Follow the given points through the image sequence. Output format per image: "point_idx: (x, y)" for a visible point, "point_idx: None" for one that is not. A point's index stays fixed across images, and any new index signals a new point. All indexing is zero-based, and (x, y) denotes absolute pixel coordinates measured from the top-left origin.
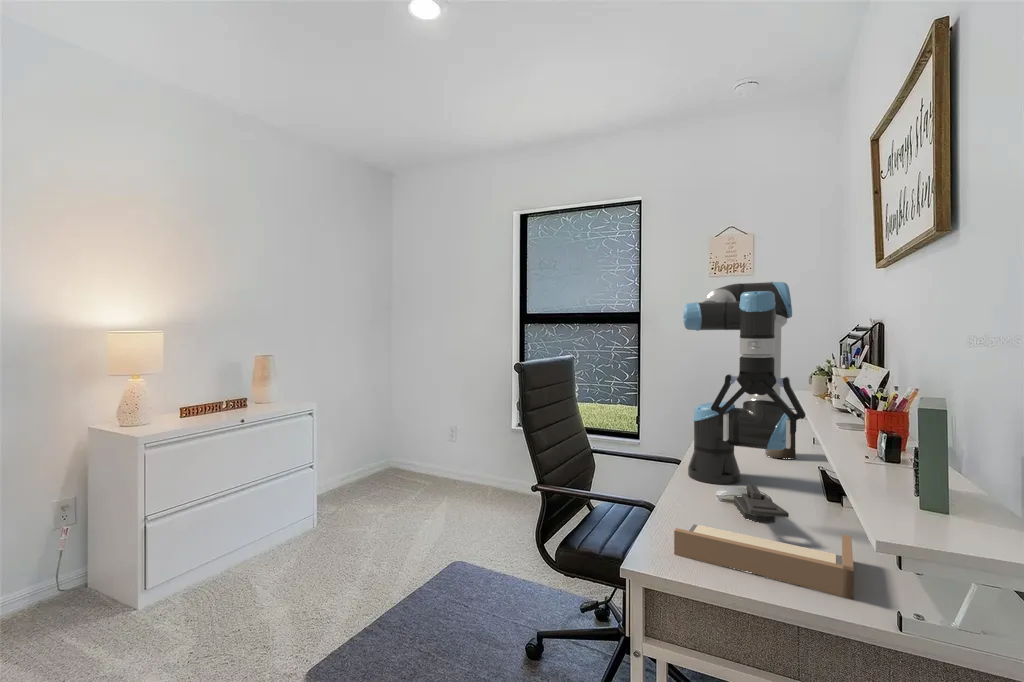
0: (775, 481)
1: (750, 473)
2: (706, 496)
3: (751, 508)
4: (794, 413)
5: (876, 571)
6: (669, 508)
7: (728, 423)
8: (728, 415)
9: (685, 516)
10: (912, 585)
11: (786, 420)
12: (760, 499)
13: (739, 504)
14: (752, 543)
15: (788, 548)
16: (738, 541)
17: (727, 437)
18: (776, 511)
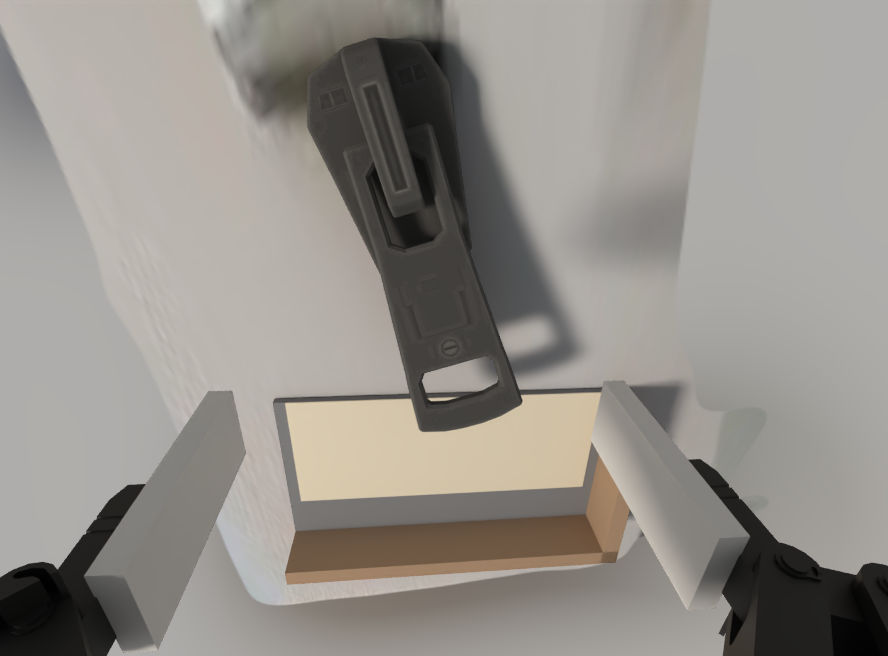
0: None
1: None
2: (185, 84)
3: (422, 423)
4: (824, 605)
5: (661, 407)
6: (145, 305)
7: (181, 484)
8: (139, 556)
9: (222, 342)
10: (706, 428)
11: (690, 609)
12: (422, 209)
13: (349, 210)
14: (431, 434)
15: (506, 418)
16: (400, 441)
17: (233, 434)
18: (491, 413)
